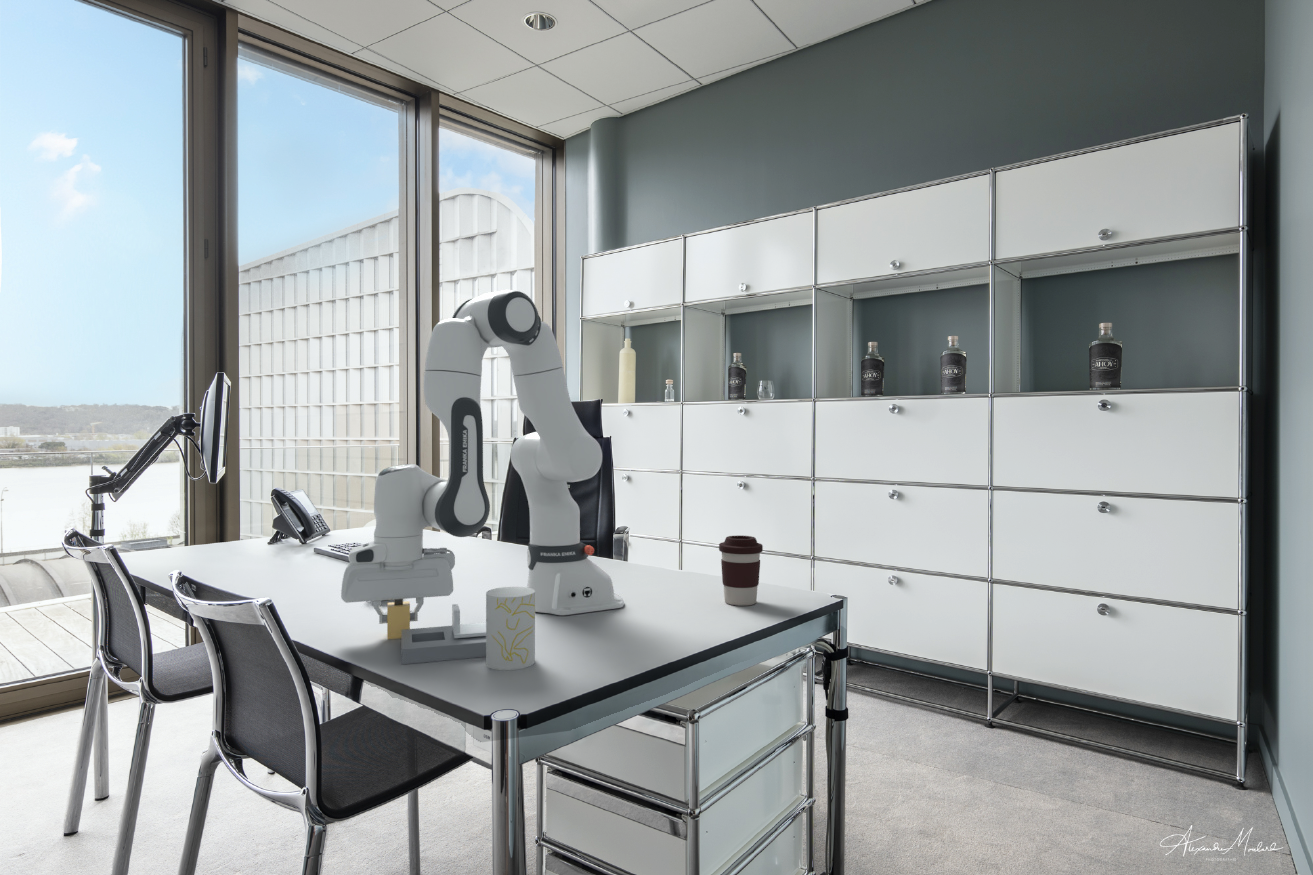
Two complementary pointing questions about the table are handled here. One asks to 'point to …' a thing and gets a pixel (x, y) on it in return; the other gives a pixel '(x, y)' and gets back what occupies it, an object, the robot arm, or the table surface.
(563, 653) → the table surface
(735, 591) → the coffee cup
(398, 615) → the plug
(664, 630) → the table surface
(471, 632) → the white l-shaped bracket
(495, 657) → the cup
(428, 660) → the socket board
